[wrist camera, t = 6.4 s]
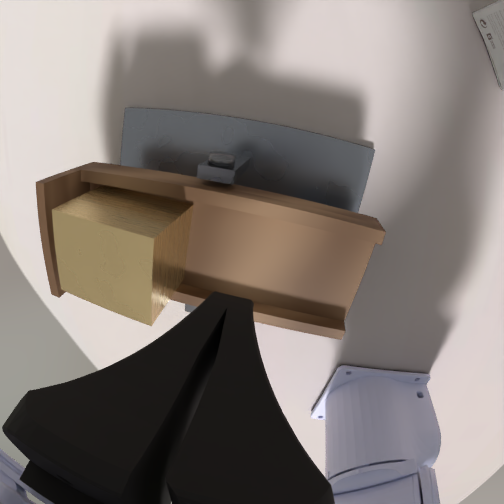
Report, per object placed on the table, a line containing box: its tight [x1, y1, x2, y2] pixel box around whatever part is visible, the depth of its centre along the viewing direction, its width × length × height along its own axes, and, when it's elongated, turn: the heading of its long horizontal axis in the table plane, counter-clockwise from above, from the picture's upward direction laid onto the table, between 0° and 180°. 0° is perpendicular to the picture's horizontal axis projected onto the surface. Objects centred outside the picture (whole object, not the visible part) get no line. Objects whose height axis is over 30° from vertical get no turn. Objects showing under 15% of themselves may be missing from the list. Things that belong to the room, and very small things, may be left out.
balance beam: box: [36, 162, 386, 340], centre depth 13 cm, size 15×6×6 cm, turn 80°
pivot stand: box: [120, 108, 375, 312], centre depth 16 cm, size 15×12×5 cm
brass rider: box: [52, 185, 193, 326], centre depth 12 cm, size 5×4×4 cm
